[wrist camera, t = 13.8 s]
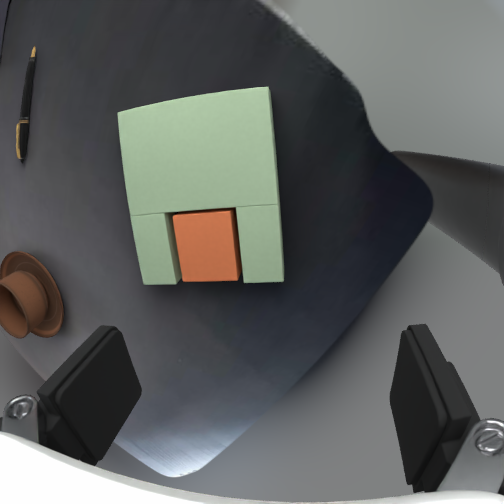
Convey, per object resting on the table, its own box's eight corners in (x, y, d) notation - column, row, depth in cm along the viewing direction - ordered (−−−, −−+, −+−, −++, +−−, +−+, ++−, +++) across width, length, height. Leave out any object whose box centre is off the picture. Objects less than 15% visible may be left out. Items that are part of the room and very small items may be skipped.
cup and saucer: (20, 321, 37) (-6, 341, 31) (1, 243, 33) (-30, 259, 27) (79, 338, 36) (53, 365, 30) (61, 250, 32) (26, 270, 26)
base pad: (270, 91, 24) (268, 86, 22) (284, 271, 29) (283, 281, 27) (129, 113, 26) (117, 112, 24) (153, 275, 31) (143, 284, 29)
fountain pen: (35, 46, 24) (27, 44, 23) (41, 44, 24) (33, 42, 23) (22, 163, 29) (14, 164, 28) (28, 163, 29) (20, 164, 28)
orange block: (235, 205, 28) (230, 211, 26) (242, 269, 30) (237, 280, 28) (181, 210, 29) (172, 216, 26) (191, 271, 31) (183, 282, 28)
